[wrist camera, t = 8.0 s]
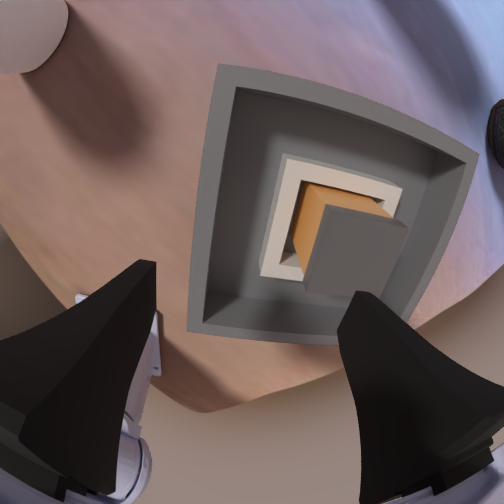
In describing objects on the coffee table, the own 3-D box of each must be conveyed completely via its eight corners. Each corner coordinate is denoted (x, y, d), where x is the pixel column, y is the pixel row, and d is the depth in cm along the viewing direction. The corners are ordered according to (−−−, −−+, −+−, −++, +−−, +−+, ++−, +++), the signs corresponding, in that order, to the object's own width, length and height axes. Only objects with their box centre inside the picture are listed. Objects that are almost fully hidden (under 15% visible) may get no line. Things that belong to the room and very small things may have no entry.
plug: (345, 246, 19) (378, 299, 14) (288, 237, 19) (306, 292, 13) (363, 190, 17) (409, 228, 12) (303, 176, 16) (331, 211, 11)
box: (375, 314, 23) (391, 345, 20) (194, 295, 21) (186, 331, 18) (444, 141, 16) (479, 154, 12) (224, 73, 14) (217, 63, 10)
